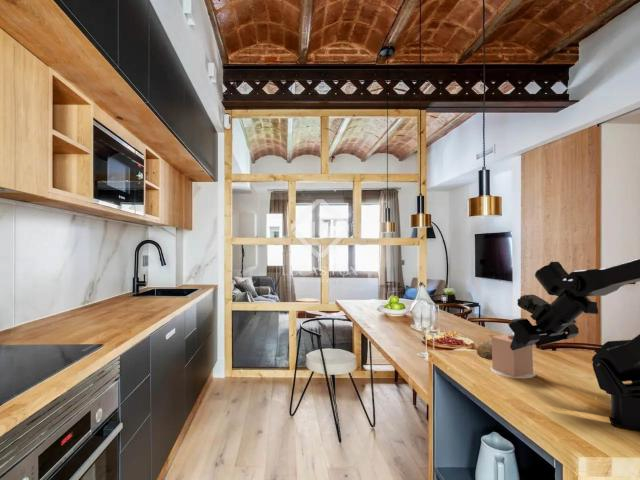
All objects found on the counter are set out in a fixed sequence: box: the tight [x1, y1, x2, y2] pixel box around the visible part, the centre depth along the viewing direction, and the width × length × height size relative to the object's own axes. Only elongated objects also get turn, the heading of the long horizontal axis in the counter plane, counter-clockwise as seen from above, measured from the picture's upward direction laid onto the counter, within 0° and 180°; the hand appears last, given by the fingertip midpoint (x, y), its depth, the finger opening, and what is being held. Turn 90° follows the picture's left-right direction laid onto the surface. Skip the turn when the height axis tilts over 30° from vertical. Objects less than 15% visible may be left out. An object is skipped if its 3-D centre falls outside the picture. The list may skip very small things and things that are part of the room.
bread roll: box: [476, 338, 492, 360], centre depth 112 cm, size 10×10×8 cm
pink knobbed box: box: [491, 333, 534, 377], centre depth 97 cm, size 7×7×10 cm
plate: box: [490, 366, 537, 379], centre depth 97 cm, size 11×11×1 cm
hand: (523, 346), depth 94 cm, fingers open, 9 cm apart
